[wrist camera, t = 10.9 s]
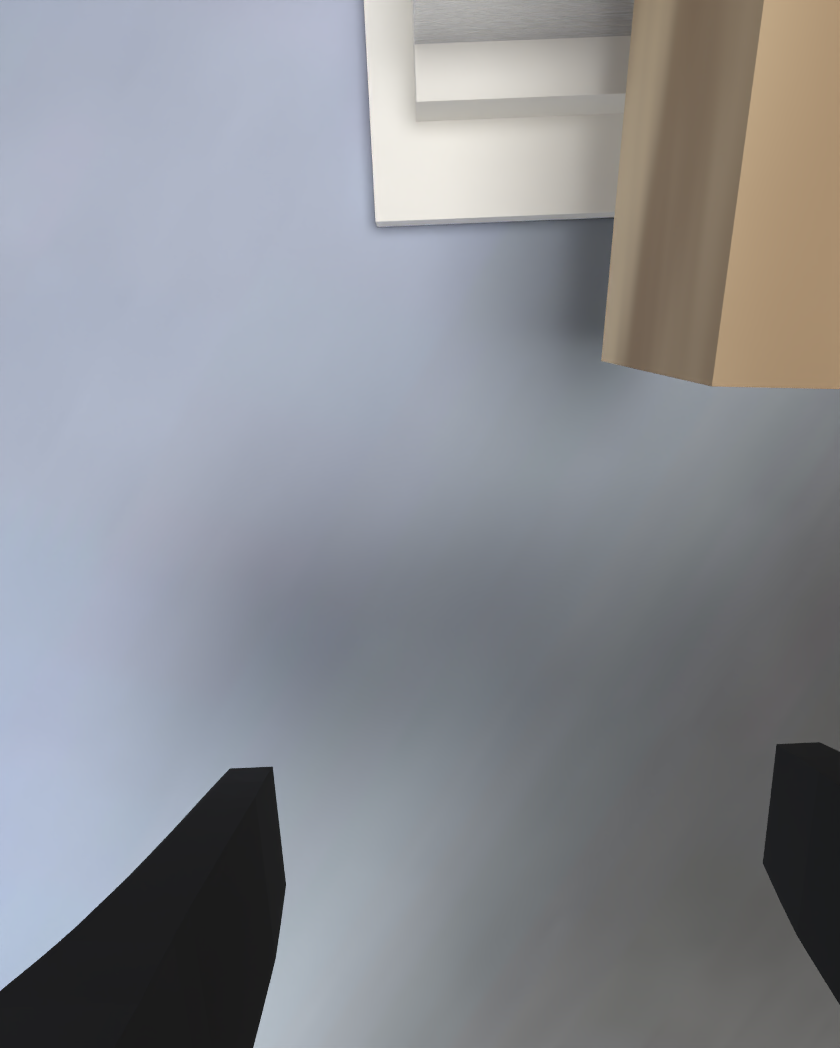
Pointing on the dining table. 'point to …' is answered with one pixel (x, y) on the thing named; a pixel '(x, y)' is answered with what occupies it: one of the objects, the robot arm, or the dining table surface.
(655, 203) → the oak bar
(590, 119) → the ridge stand
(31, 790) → the dining table surface
